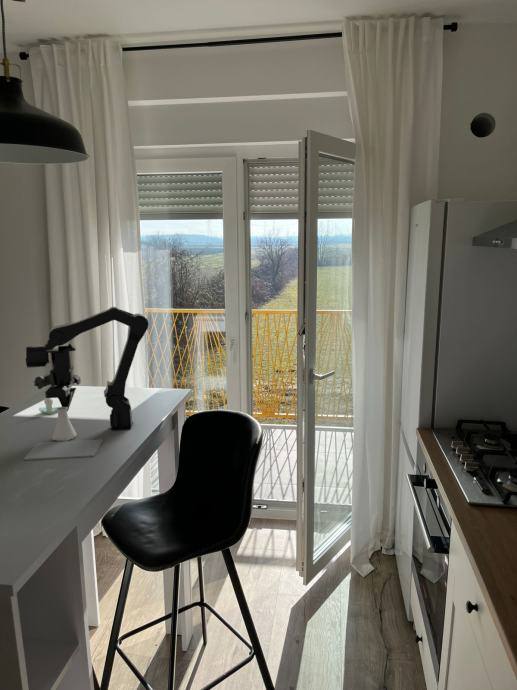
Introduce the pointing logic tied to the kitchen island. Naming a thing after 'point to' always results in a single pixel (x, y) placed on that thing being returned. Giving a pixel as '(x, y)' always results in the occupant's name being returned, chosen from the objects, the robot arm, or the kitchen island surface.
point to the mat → (64, 449)
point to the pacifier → (48, 407)
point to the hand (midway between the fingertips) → (66, 411)
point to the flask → (63, 426)
